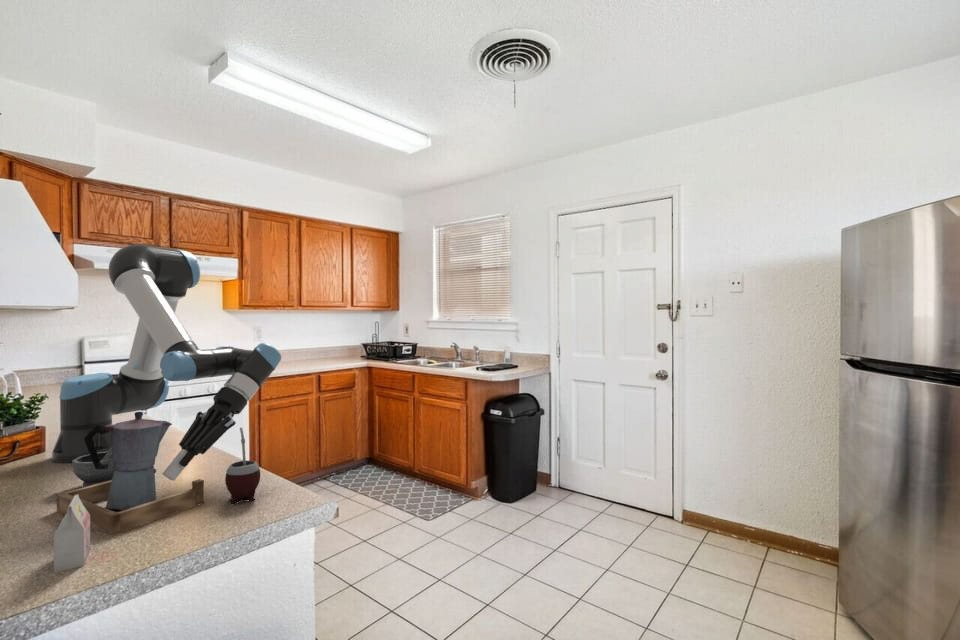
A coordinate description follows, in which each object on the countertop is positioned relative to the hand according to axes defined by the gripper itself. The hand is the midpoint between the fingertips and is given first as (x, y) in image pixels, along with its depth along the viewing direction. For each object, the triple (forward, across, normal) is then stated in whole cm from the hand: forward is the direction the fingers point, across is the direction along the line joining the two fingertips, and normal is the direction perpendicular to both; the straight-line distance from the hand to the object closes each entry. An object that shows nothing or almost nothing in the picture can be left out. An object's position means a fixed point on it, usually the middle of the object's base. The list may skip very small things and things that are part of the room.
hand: (168, 477), depth 108 cm
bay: (+8, -1, +3) cm, 9 cm away
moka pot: (+8, +1, +2) cm, 8 cm away
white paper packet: (+20, -16, +14) cm, 29 cm away
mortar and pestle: (+6, +20, 0) cm, 21 cm away
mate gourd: (-2, -17, -8) cm, 19 cm away
